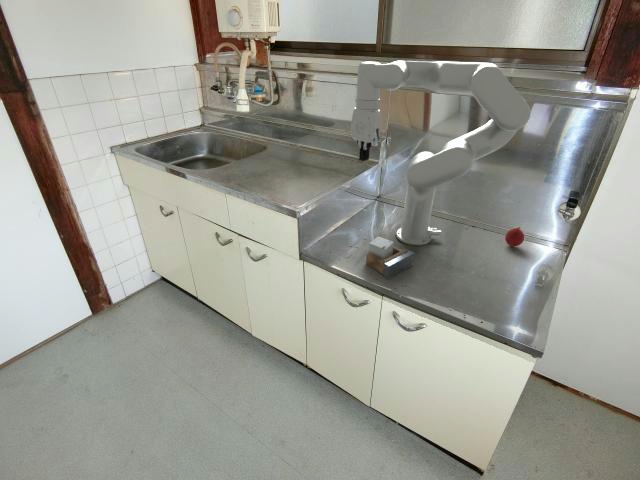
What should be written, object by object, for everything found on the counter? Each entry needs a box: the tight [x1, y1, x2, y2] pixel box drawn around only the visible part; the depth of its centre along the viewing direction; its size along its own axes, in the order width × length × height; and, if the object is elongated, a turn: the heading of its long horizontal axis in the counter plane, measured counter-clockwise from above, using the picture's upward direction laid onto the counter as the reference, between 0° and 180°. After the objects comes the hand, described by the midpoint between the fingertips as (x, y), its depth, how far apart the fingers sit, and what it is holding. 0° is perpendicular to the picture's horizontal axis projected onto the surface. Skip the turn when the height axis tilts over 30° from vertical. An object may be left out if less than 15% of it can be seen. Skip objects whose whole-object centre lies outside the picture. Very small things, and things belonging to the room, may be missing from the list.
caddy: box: [365, 245, 409, 275], centre depth 117 cm, size 8×10×5 cm
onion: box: [504, 226, 525, 248], centre depth 126 cm, size 6×6×8 cm
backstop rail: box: [382, 249, 415, 281], centre depth 114 cm, size 2×12×5 cm, turn 129°
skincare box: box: [368, 236, 395, 260], centre depth 118 cm, size 6×6×7 cm
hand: (364, 159), depth 126 cm, fingers closed
